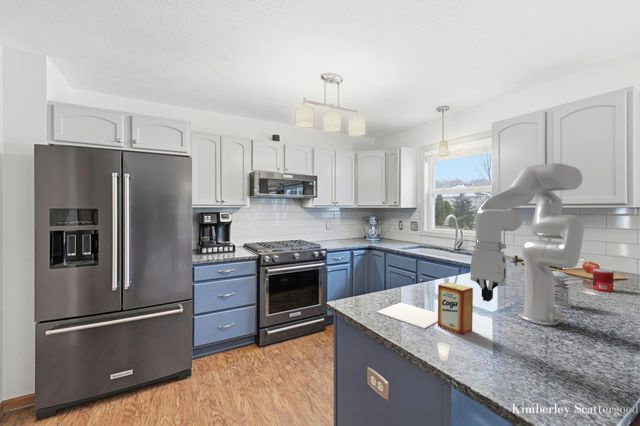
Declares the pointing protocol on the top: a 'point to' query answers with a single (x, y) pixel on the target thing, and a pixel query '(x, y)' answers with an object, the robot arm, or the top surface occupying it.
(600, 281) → the canned food
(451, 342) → the top surface
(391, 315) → the mat
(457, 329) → the baking soda box
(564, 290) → the french press
